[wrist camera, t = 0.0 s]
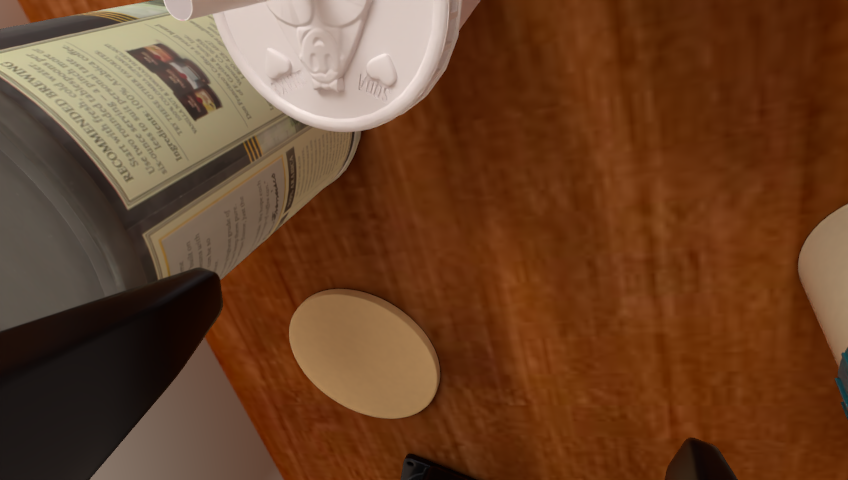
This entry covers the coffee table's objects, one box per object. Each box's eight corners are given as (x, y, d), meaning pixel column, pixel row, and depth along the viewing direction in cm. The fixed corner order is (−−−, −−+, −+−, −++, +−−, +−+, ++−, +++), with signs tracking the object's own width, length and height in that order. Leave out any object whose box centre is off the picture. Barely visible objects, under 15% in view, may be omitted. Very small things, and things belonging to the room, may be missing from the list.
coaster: (429, 431, 34) (426, 439, 34) (295, 380, 36) (290, 386, 36) (452, 320, 29) (448, 327, 28) (291, 267, 31) (286, 273, 30)
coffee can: (176, 145, 29) (-120, 294, 18) (181, -56, 23) (-268, -26, 12) (339, 226, 28) (136, 438, 17) (390, 38, 22) (124, 172, 11)
